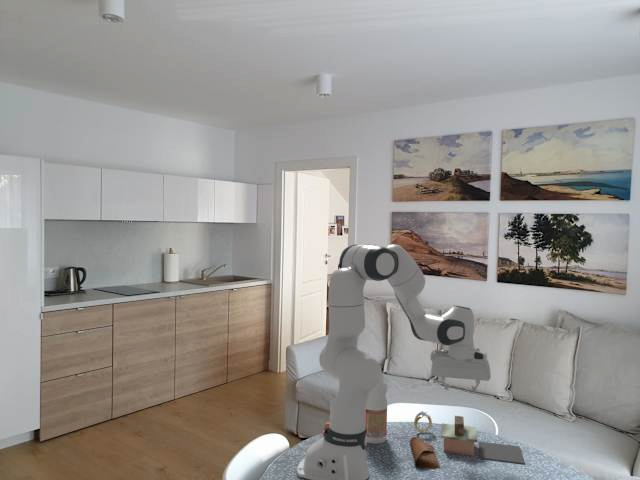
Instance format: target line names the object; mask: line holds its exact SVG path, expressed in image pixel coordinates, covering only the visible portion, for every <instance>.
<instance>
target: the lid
mask: <svg viewBox="0 0 640 480" xmlns="http://www.w3.org/2000/svg"><path fill="white" fill-rule="evenodd" d="M464 422H465V420H464V416H461V415H460V416H459V415H454V424H451V423H441V432H440V438H441V439H444V438H446V439H454V440H463V441H471V442H474V443H478V434H477V433H478V432H477V427H476V426H469V425H465V423H464Z"/></svg>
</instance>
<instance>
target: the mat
mask: <svg viewBox="0 0 640 480" xmlns="http://www.w3.org/2000/svg"><path fill="white" fill-rule="evenodd" d="M477 443H478V452H479V456H480V457H479V458H480V460H489V461H495V462H503V463H511V464H519V465H526V462H525V459H524V455H523V453H522V450H521V447H520V446H519V445H511V444H503V443H494V442H488V441H487V442H485V441H478V442H477Z"/></svg>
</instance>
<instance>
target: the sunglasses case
mask: <svg viewBox="0 0 640 480" xmlns="http://www.w3.org/2000/svg"><path fill="white" fill-rule="evenodd" d="M409 445H410V449H411V454H412V456H413V462H414V464H415V467H416V468H419V469H420V468H421V469H440V470H441V466H440V463H439V460H438V458H437V455H436V452H435V447H434V446H433V445H432V444H429V443H428V442H425V441H423V440H421V439H420V438H418V437H416V436H413V437H411V438H410V440H409Z"/></svg>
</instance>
